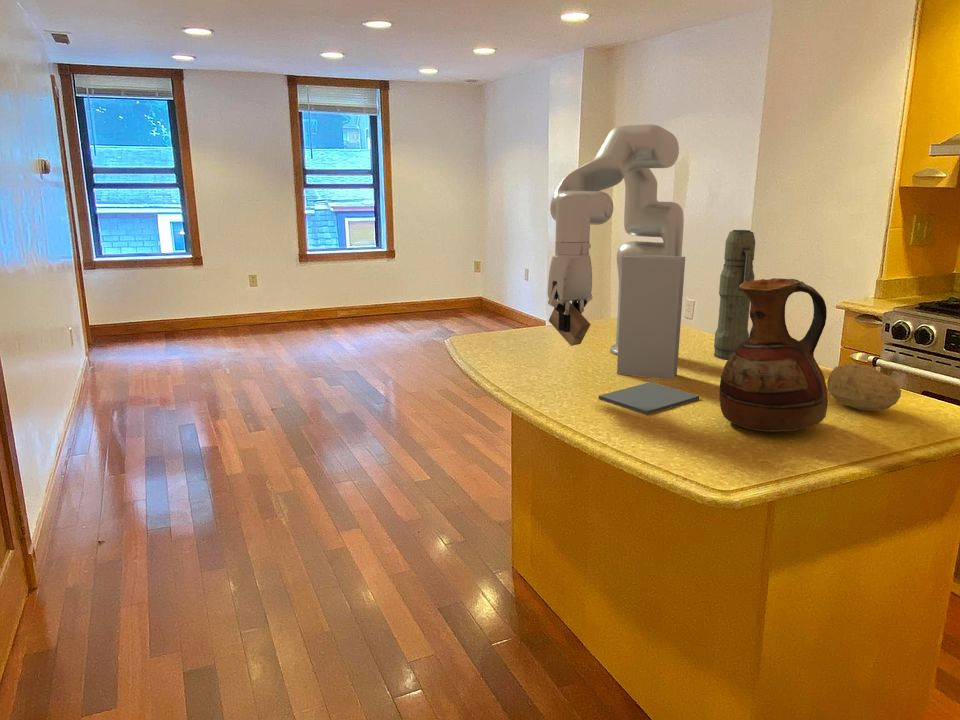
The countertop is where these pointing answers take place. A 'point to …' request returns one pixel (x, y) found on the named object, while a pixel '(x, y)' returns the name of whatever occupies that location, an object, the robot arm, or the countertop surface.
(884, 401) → the potato
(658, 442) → the countertop surface
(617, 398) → the mat
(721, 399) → the ceramic pitcher
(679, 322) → the thin beige panel
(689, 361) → the countertop surface
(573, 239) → the robot arm
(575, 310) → the brown angular block
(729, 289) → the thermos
